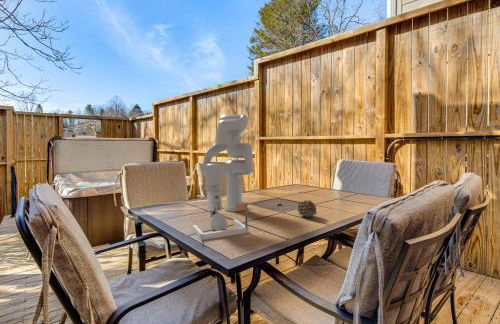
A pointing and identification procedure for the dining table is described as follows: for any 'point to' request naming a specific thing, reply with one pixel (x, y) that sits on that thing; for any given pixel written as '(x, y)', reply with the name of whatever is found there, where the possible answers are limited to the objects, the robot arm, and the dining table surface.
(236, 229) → the white stand base
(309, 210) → the pine cone
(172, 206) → the dining table surface
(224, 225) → the die
